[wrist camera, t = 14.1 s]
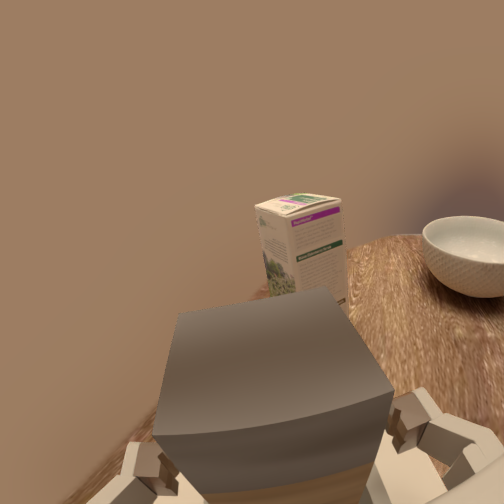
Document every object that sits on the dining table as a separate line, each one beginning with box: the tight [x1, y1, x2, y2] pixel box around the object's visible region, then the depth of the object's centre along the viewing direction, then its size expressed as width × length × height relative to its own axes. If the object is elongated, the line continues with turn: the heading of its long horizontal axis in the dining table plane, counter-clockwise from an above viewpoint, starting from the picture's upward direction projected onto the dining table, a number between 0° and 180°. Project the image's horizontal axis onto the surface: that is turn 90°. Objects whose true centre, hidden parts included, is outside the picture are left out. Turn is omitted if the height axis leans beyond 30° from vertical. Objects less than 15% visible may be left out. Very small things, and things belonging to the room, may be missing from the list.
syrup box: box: [255, 193, 349, 319], centre depth 27 cm, size 6×6×14 cm
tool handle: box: [152, 286, 395, 504], centre depth 9 cm, size 4×4×14 cm
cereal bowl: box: [422, 216, 504, 298], centre depth 29 cm, size 17×17×7 cm
